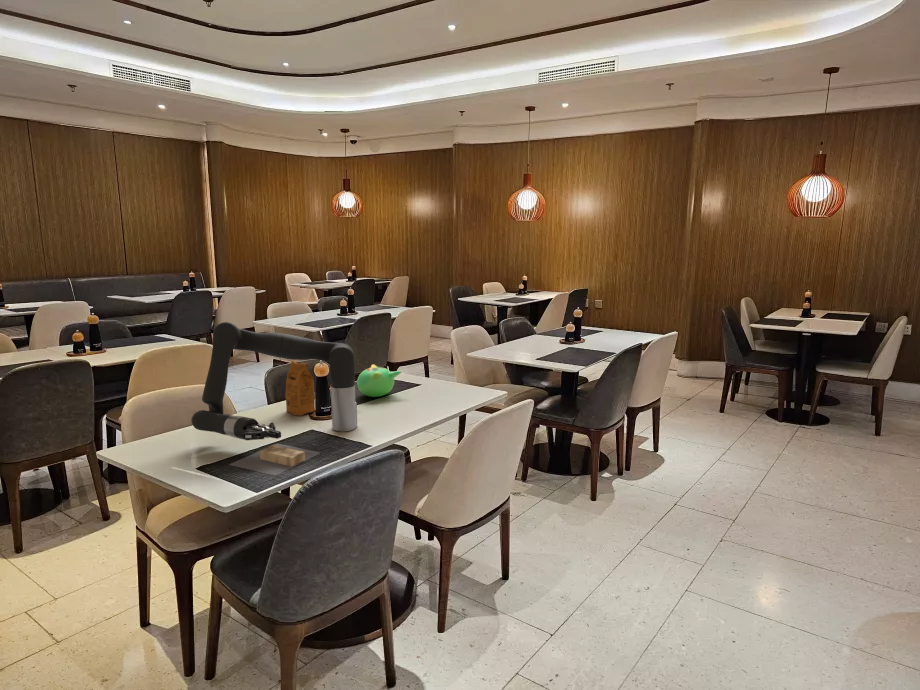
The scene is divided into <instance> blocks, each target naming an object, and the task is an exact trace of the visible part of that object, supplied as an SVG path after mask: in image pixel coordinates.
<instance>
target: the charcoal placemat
mask: <svg viewBox="0 0 920 690" xmlns="http://www.w3.org/2000/svg"><path fill="white" fill-rule="evenodd" d="M274 445H275V446H280V447H284V448H289V449H294V450H299V451H304V452H305V460H304V461H302V462H300V463H298V464H296V465H294V466H288V465H284V464H279V463H275V462H270V461H266V460H261V459H260V450H259V451H256V452H254V453H252V454H250V455H248V456H244V457H243V458H240V459H238V460H236V461H234V462H231V463H229V464H228V465H229V466H232V467H236V468H237V467H238V468H241V469H245V470H250V471H253V472H258V473H263V474H266V475H271V476H278V475H279V474H281V473H284V472H286V471H287V470H290V469H292V468H294V467H295V466H297V465H300V464H302V463H304V462H305V461H308V460H310V459H311V458H314V457H315V456H317V455H320V454H321V453H322V452H320V451H315V450H311V449H307V448H306V449H305V448H301V447H297V446H291V445H288V444H287V445H286V444H281V443H275V444H274Z"/></svg>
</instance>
